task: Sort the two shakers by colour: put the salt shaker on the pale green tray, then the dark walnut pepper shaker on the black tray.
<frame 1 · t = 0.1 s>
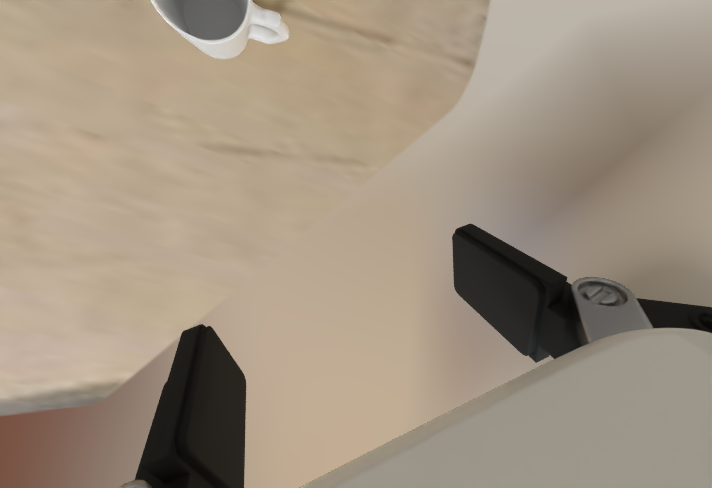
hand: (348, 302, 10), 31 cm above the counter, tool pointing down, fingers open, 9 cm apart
mug: (233, 31, 30), on the counter
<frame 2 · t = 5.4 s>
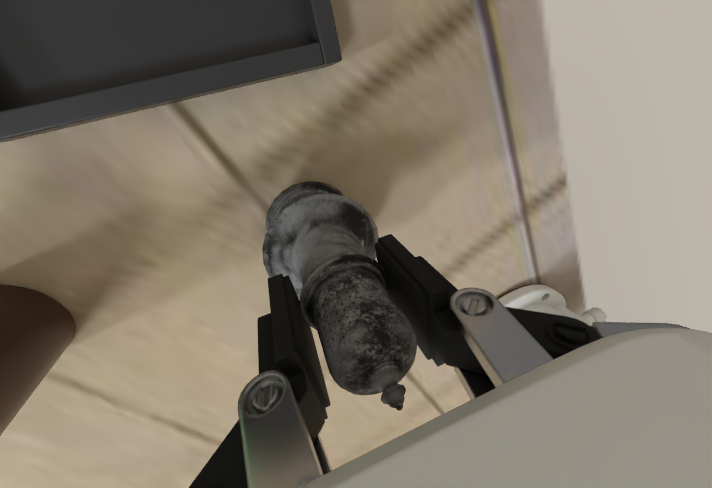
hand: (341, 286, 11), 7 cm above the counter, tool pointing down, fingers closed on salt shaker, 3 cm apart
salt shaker: (311, 223, 17), on the counter, touching gripper
pepper shaker: (10, 325, 14), on the counter
when the fingers open (7 cm above the counter, at t = 12.4 s): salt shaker stays where it is, resting on pale tray.
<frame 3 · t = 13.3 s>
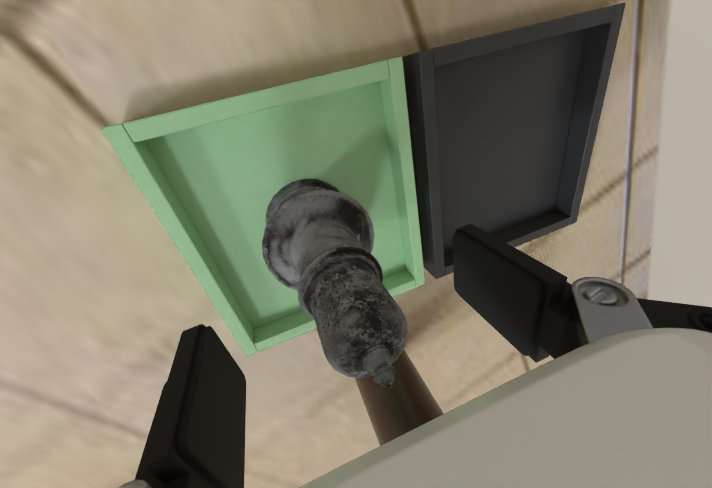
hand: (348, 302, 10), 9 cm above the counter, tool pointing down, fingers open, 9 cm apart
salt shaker: (309, 219, 18), resting on pale tray
dark tray: (495, 154, 20), on the counter
pale tray: (306, 217, 18), on the counter
pepper shaker: (374, 353, 26), on the counter
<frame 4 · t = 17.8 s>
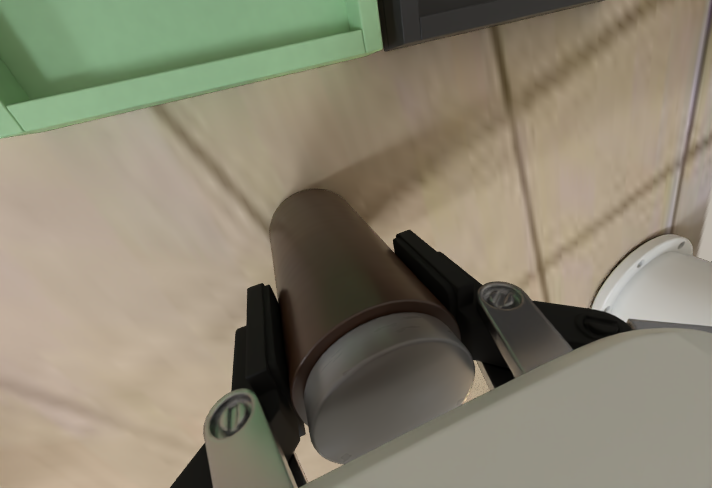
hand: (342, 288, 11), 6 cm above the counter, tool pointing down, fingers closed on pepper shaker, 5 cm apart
pepper shaker: (314, 231, 16), on the counter, touching gripper
when the fingers open (6 cm above the counter, at t = 25.0 s): pepper shaker stays where it is, resting on dark tray.
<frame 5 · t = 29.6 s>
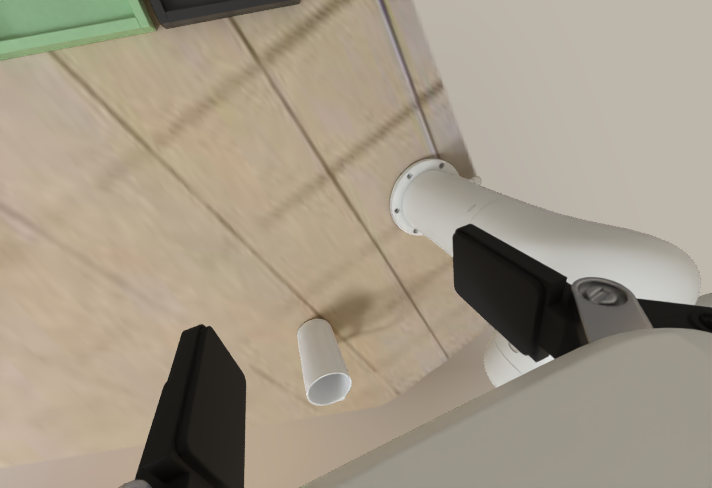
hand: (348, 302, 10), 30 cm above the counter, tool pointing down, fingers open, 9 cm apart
mug: (318, 336, 52), on the counter
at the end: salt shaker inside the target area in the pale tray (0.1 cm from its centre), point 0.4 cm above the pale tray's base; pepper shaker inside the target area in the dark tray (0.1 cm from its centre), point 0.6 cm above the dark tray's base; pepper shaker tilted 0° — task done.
